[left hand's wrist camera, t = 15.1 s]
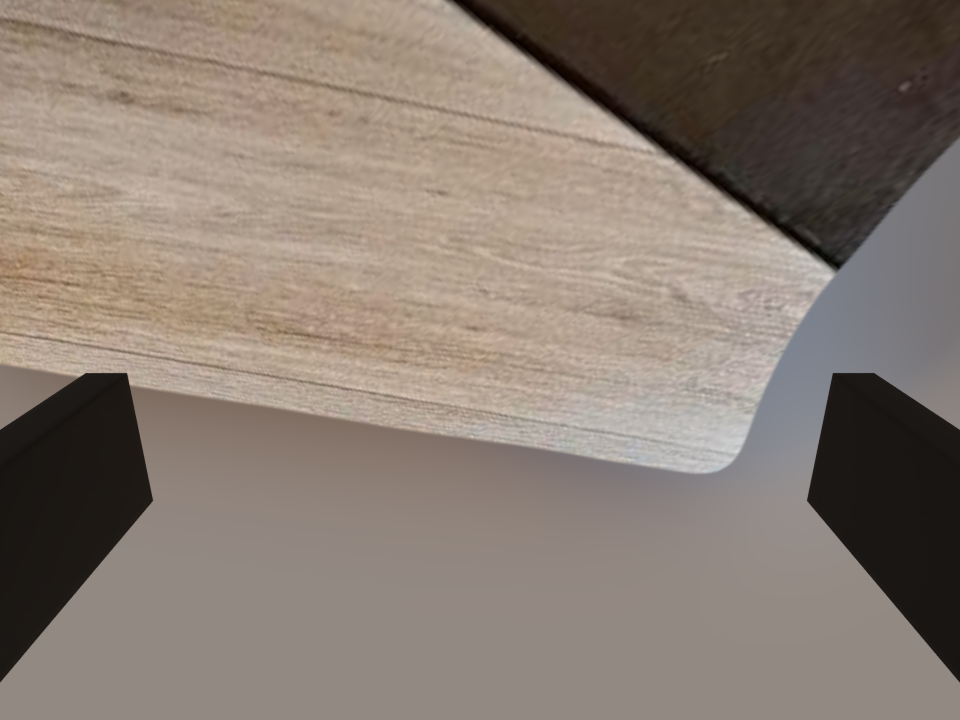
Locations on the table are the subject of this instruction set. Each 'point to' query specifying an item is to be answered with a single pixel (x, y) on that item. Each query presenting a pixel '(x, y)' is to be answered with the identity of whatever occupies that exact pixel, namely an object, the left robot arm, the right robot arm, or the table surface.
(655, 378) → the table surface
